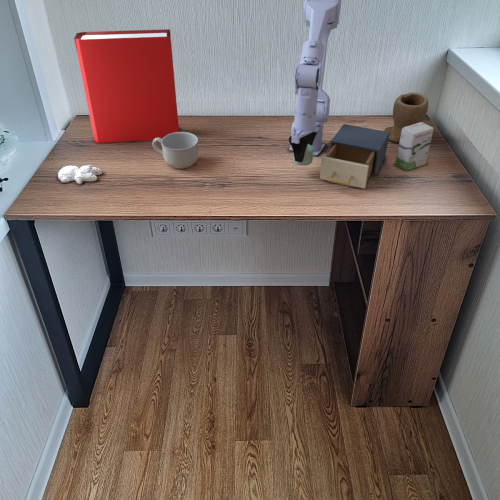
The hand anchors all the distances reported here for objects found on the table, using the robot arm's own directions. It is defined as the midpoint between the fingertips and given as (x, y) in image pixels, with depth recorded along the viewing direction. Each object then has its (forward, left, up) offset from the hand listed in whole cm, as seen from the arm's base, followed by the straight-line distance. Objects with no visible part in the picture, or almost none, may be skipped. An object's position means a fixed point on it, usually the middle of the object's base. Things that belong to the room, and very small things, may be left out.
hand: (302, 156), depth 144 cm
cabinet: (+13, +15, -6) cm, 20 cm away
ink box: (+28, +20, -6) cm, 34 cm away
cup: (0, 0, -1) cm, 1 cm away
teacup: (-36, -9, -6) cm, 38 cm away
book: (-58, +2, -6) cm, 59 cm away
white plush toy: (-57, -28, -6) cm, 64 cm away
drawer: (+12, +2, -5) cm, 14 cm away
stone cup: (+24, +37, -6) cm, 44 cm away
